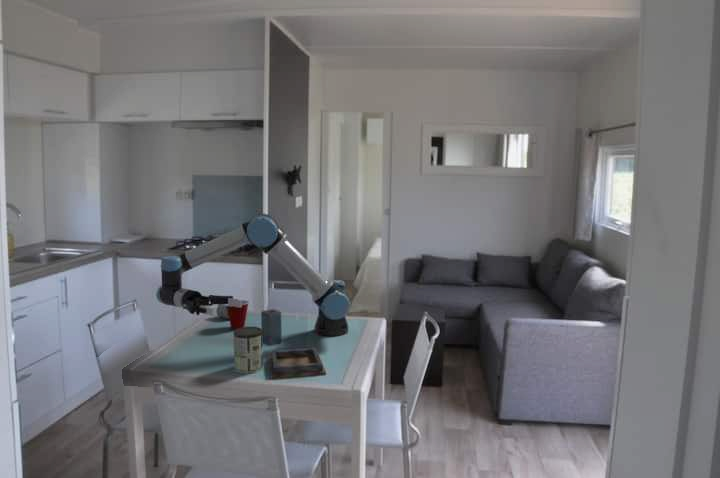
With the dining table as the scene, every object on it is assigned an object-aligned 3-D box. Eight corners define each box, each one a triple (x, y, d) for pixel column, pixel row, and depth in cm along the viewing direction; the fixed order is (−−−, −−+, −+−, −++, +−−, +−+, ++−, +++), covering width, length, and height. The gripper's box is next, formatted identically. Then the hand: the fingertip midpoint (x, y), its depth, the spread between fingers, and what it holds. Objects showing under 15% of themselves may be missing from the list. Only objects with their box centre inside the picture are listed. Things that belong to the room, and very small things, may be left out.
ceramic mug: (227, 321, 248) (227, 305, 247) (216, 318, 252) (216, 303, 251) (244, 316, 256) (244, 301, 255) (232, 314, 261) (232, 298, 260)
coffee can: (243, 361, 197) (243, 325, 196) (268, 365, 194) (267, 328, 192) (228, 371, 188) (227, 333, 186) (253, 375, 184) (253, 336, 183)
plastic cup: (238, 322, 246) (238, 297, 244) (254, 327, 240) (254, 301, 238) (220, 328, 237) (219, 302, 235) (236, 333, 231) (235, 306, 229)
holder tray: (317, 355, 204) (317, 347, 204) (325, 374, 186) (325, 364, 185) (268, 359, 200) (268, 350, 199) (271, 378, 182) (271, 369, 181)
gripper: (213, 302, 215) (251, 310, 204) (161, 316, 194) (201, 326, 183) (213, 284, 214) (251, 291, 203) (161, 296, 193) (200, 305, 182)
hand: (227, 307), depth 193 cm, fingers open, 13 cm apart
